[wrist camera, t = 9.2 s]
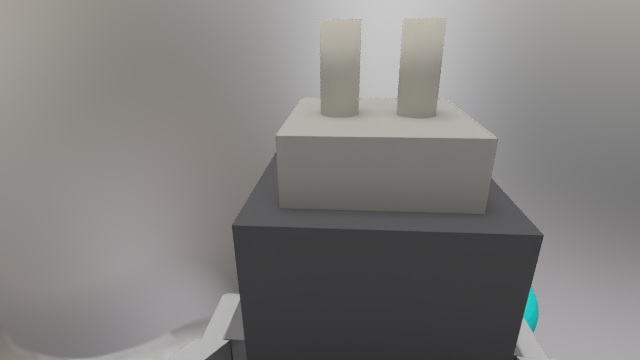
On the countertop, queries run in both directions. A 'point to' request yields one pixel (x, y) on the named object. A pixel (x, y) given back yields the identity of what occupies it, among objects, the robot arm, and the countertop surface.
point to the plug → (382, 222)
